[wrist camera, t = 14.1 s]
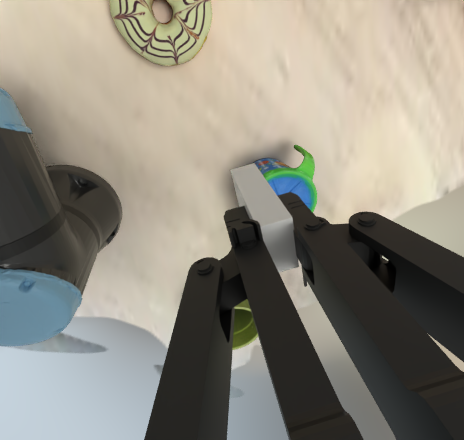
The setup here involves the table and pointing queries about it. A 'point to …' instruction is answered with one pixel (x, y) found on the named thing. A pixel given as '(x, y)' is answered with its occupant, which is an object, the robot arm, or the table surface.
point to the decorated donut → (163, 29)
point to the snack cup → (291, 177)
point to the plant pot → (243, 326)
